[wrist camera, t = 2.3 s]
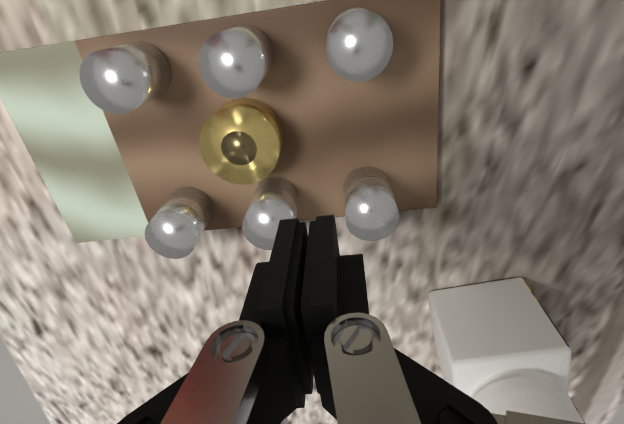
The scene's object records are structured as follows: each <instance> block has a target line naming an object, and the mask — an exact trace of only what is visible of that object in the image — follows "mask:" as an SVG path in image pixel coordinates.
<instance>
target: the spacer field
mask: <svg viewBox="0 0 624 424" xmlns="http://www.w3.org/2000/svg"><path fill="white" fill-rule="evenodd" d="M392 51H393V37H392V33H391V30H390V28H389V26H388V24H387V23H386V21H385V20H384V19H383V18H382V17H381V16H379V15H378V14H376V13H374V12H372V11H369V10H367V9H364V8H360V7H353V8H348V9H346V10H344V11H342V12H341V13H339V14H338V15H337V16H336V17H335V18H334V19H333V21H332V23H331V24H330V27H329V30H328V34H327V42H326V53H327V58H328V61H329V63H330V65H331V67H332V69H333V70H334V71H335V72H336V73H337V74H338V75H339V76H341V77H342V78H344V79H346V80H349V81H353V82H362V81H367V80H370V79H372V78H374V77H376V76H377V75H378V74H380V73H381V72H382V71H383V70H384V68H385V67H386V66H387V64H388V62H389V60H390V58H391V55H392ZM273 61H274V51H273V47H272V44H271V42H270V40H269V38H268V37H267V36H266V34H265V33H264V32H262V31H261V30H260V29H258V28H256V27H254V26H251V25H239V26H235V27H232V28H229V29H226V30H223V31H220V32H217V33H215V34H213V35H211V36H210V37H209V38H208V39H207V40H206V41H205V42H204V44H203V45H202V48H201V50H200V54H199V68H200V72H201V75H202V77H203V79H204V81H205V82H206V84H207V85H208V86H209V87H210V88H211V89H212V90H213V91H214V92H215V93H217V94H219V95H221V96H223V97H226V98H231V99H237V98H242V97H245V96H247V95H249V94H250V93H252V92H253V91H254V90H255V89H256V88H257V87H258V85H259V84H260V83H261V82H262V80H263V79H264V78H265V77H266V75H267V74H268V73H269V72H270V70H271V68H272V65H273ZM79 76H80V82H81V85H82V88H83V90H84V92H85V94H86V95H87V97H88V98H89V99H90V100H91V101H92V103H94V104H95V105H96V106H97V107H99V108H100V109H102V110H104V111H106V112H109V113H112V114H126V113H129V112H131V111H132V110H134V109H136V108H138V107H139V106H141V105H143V104H145V103H146V102H148V101H150V100H151V99H153V98H155V97H157V96H158V95H160V94H162V93H163V92H165V91H166V90H167V89H168V87H169V85H170V83H171V79H172V70H171V66H170V63H169V61H168V59H167V57H166V56H165V54H164V53H163V52H162V51H161V50H160V49H159V48H158V47H156V46H155V45H153V44H151V43H148V42H144V41H136V42H132V43H128V44H123V45H119V46H115V47H111V48H107V49H102V50H98V51H94V52H92V53H90V54H88V55H87V56H86V57H85V58H84V60H83V61H82V63H81V66H80V72H79ZM344 202H345V219H346V225H347V227H348V229H349V231H350V232H351V233H352V234H353V235H354V236H356V237H358V238H360V239H363V240H367V241H375V240H380V239H383V238H385V237H387V236H388V235H390V234H391V233H392V232H393V231H394V230H395V228H396V227H397V225H398V222H399V212H398V208H397V205H396V202H395V198H394V195H393V192H392V189H391V185H390V182H389V179H388V177H387V175H386V174H385V173H384V172H383V171H382V170H380V169H378V168H375V167H371V166H365V167H360V168H357V169H355V170H354V171H352V172H351V173H350V174H349V175H348V176H347V178H346V180H345V182H344ZM298 203H299V193H298V191H297V189H296V187H295V186H294V184H293V183H291V182H290V181H289V180H287V179H285V178H282V177H269V178H266V179H264V180H263V181H261V182H260V183H259V184H258V186H257V187H256V189H255V192H254V195H253V197H252V200H251V202H250V205H249V207H248V210H247V212H246V215H245V217H244V220H243V225H242V226H243V232H244V235H245V237H246V238H247V239H248V241H249V242H250V243H252V244H253V245H255V246H256V247H259V248H261V249H265V250H272V249H273V245H274V241H275V237H276V233H277V229H278V225H279V221H280V220H283V219H293V218H296V216H297V209H298ZM212 213H213V205H212V202H211V200H210V198H209V197H208V196H207V195H206V194H205V193H204V192H203V191H201V190H200V189H197V188H194V187H181V188H178V189H177V190H175V191H174V192H173V193H172V194H171V196H170V197H169V198H168V199H167V201H166V202H165V203H164V204H163V206H162V207H161V208H160V209H159V211H158V212H157V213H156V214H155V216H154V217H153V218H152V219H151V221H150V222H149V223H148V224H147V226H146V229H145V238H146V241H147V243H148V244H149V246H150V247H151V248H152V249H153V250H154V251H155V252H156V253H158V254H160V255H162V256H164V257H167V258H173V259H178V258H183V257H185V256H187V255H189V254H190V253H191V252H192V251H193V249H194V247H195V245H196V243H197V242H198V240H199V238H200V236H201V234H202V232H203V231H204V229H205V227H206V225H207V223H208V221H209V220H210V218H211V216H212Z"/></svg>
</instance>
